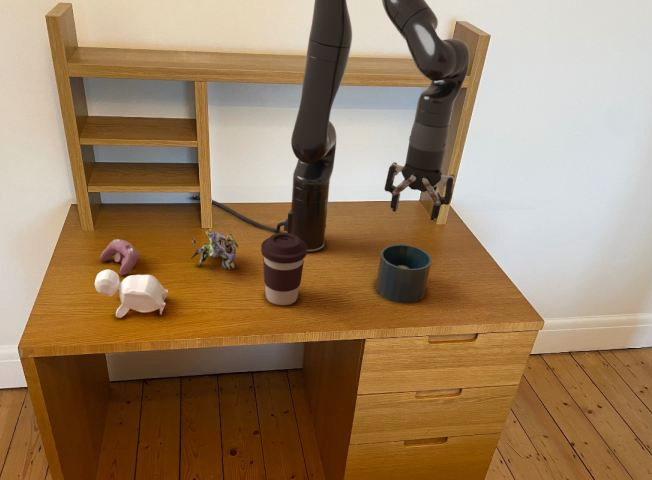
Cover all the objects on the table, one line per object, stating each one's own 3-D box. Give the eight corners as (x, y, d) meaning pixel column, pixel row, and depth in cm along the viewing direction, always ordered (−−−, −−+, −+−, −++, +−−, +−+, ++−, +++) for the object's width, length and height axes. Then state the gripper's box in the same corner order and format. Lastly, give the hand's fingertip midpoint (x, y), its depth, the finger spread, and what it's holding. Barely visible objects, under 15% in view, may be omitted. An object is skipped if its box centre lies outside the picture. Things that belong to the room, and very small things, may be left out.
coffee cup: (287, 315, 128) (291, 256, 120) (251, 299, 132) (252, 241, 124) (311, 294, 135) (316, 237, 127) (275, 280, 139) (278, 224, 131)
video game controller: (135, 277, 139) (145, 250, 138) (120, 276, 136) (129, 248, 134) (113, 261, 145) (121, 235, 143) (97, 260, 141) (105, 233, 140)
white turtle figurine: (160, 306, 133) (94, 285, 128) (172, 277, 129) (104, 255, 124) (156, 329, 126) (85, 308, 121) (168, 299, 122) (95, 276, 117)
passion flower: (230, 286, 146) (240, 267, 135) (186, 280, 143) (193, 261, 132) (232, 245, 150) (242, 224, 140) (190, 239, 147) (196, 217, 137)
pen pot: (370, 295, 137) (375, 262, 132) (383, 271, 146) (388, 240, 141) (418, 308, 134) (425, 274, 129) (428, 283, 143) (435, 251, 138)
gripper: (465, 145, 121) (448, 215, 130) (398, 131, 125) (386, 201, 134) (459, 156, 115) (442, 229, 124) (389, 142, 119) (377, 213, 128)
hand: (413, 214), depth 129 cm, fingers open, 8 cm apart
